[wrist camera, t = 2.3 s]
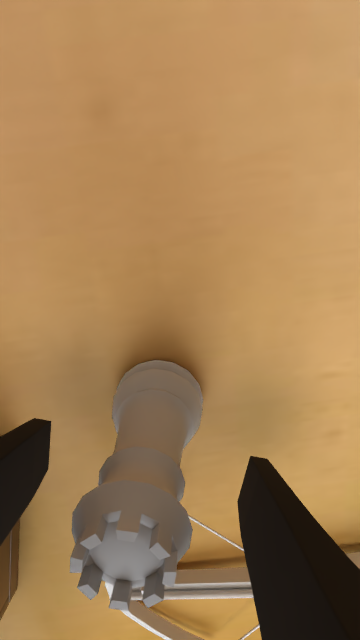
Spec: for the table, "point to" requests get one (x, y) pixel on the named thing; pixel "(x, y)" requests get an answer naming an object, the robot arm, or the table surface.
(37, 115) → the table surface
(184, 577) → the crossbow
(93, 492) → the rook chess piece
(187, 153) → the table surface
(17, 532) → the crate
